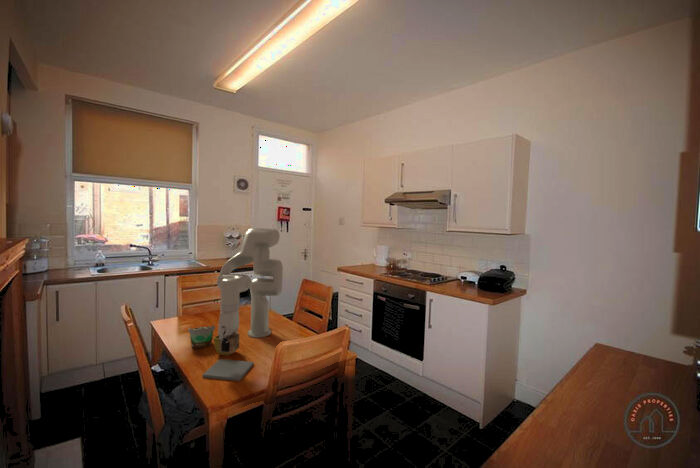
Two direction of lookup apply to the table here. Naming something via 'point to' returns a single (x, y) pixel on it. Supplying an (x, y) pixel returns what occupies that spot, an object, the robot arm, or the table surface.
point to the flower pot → (216, 343)
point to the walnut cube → (231, 343)
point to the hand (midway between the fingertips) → (229, 347)
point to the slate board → (228, 369)
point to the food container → (201, 337)
